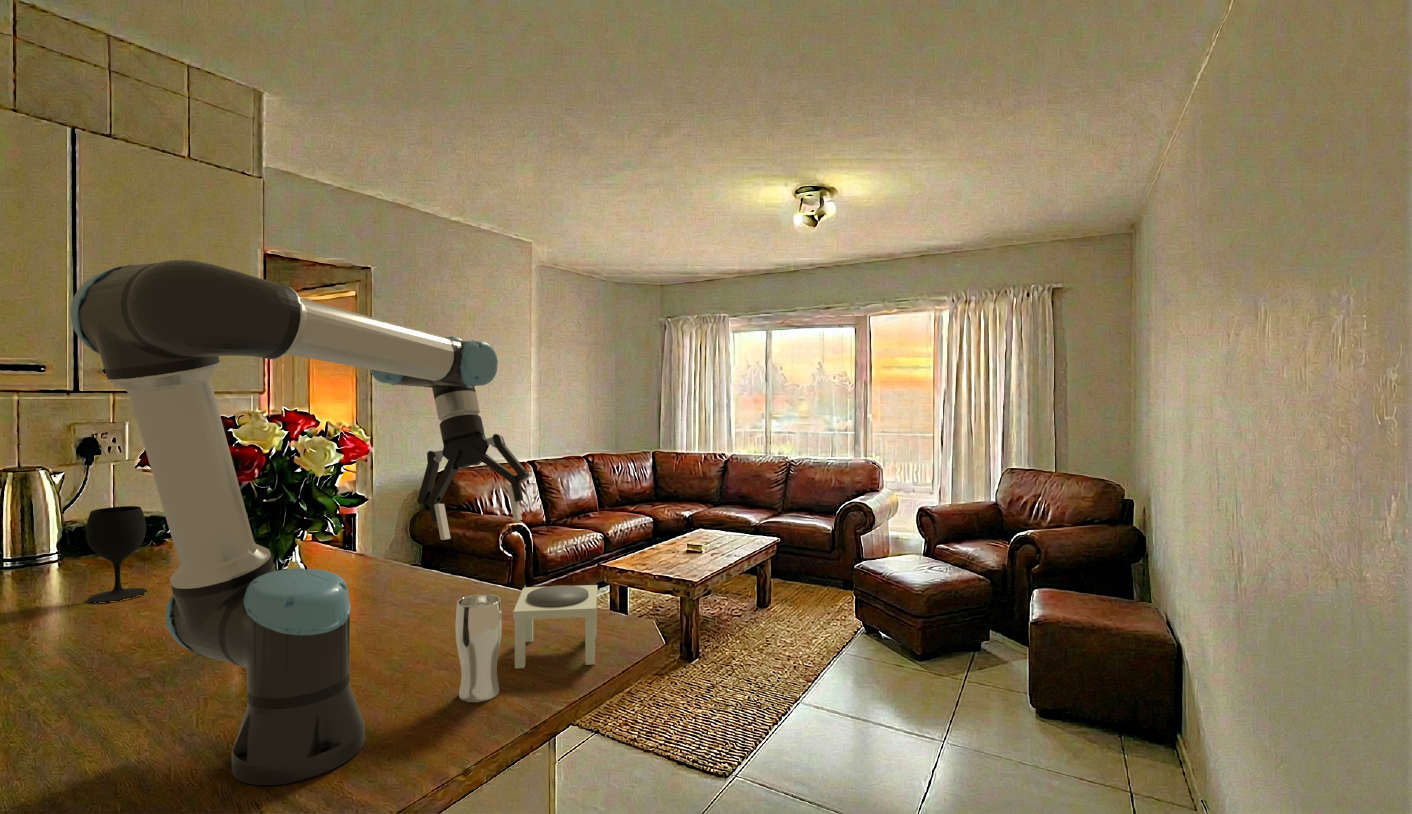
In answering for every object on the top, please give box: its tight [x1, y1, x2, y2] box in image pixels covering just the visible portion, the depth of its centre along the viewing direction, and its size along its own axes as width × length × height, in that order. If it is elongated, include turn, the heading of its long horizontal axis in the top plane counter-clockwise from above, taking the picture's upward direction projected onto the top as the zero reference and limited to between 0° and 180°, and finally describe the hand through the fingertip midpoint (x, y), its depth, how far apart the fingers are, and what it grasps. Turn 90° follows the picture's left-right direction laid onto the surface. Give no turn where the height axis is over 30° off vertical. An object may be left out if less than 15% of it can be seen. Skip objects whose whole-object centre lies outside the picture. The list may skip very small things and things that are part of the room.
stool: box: [512, 584, 598, 669], centre depth 125 cm, size 14×14×11 cm
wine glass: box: [85, 505, 148, 604], centre depth 155 cm, size 10×10×20 cm
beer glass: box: [455, 593, 503, 704], centre depth 108 cm, size 7×7×15 cm
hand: (482, 529), depth 124 cm, fingers open, 13 cm apart
